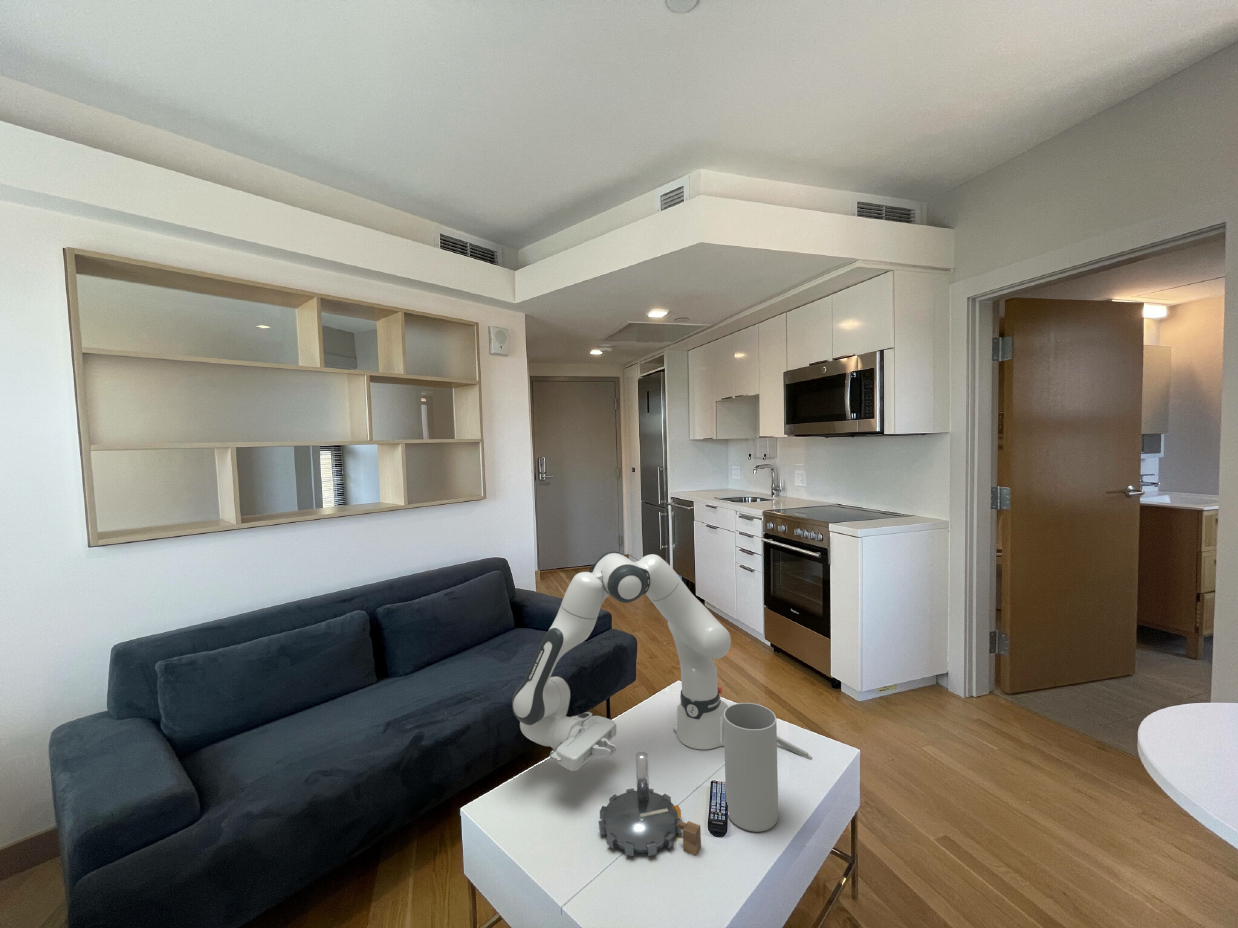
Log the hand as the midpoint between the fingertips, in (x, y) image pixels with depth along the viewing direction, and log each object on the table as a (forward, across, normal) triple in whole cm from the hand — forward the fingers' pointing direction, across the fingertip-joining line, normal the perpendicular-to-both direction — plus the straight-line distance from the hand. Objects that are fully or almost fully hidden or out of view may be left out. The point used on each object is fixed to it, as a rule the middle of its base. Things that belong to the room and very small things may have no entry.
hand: (612, 751), depth 136 cm
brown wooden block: (+25, -6, +12) cm, 28 cm away
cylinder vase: (+33, +11, +12) cm, 37 cm away
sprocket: (+11, -6, +12) cm, 18 cm away
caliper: (+31, +42, +12) cm, 54 cm away
